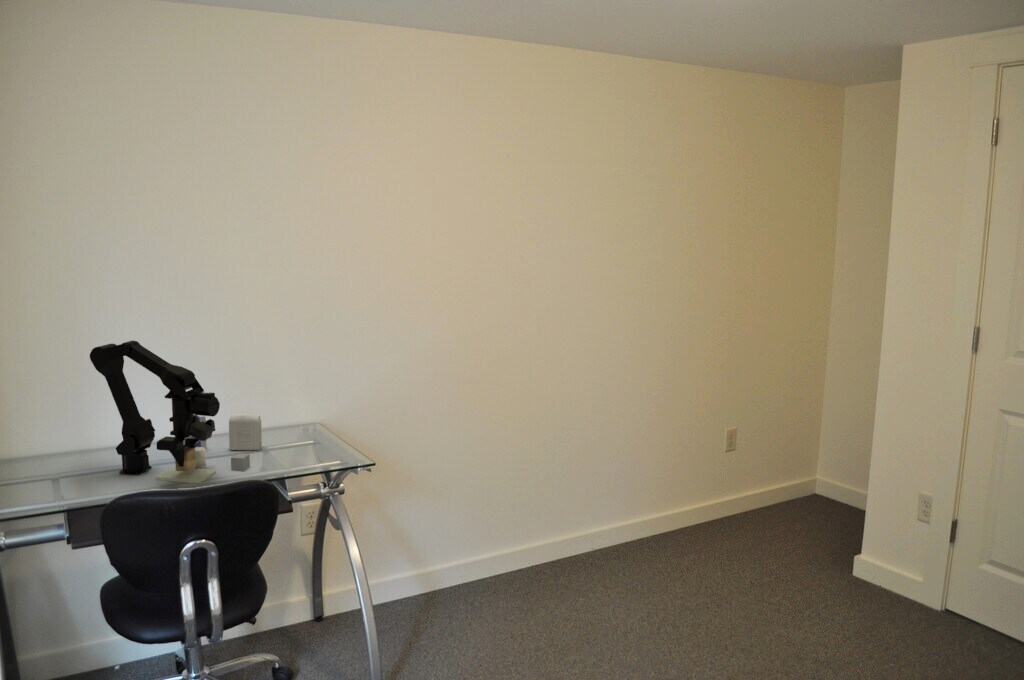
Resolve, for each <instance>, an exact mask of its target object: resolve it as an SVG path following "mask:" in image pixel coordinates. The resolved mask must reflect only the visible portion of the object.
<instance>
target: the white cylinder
mask: <svg viewBox="0 0 1024 680" xmlns="http://www.w3.org/2000/svg"><path fill="white" fill-rule="evenodd" d="M195 457H196V468H201V467H204V466H206V465H207V462H206V460H207V459H206V458H207V457H206V451H205V448H204V447H195Z"/></svg>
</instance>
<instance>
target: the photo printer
mask: <svg viewBox="0 0 1024 680" xmlns="http://www.w3.org/2000/svg"><path fill="white" fill-rule="evenodd" d="M262 435H263V433H262V419H261V415H259V414H257V413H253V412H238V413H234V414H231V415H230V416H229V420H228V437H229V438H228V440H229V441H228V443H229V445H228V446H229V450H231V451H260V450H262V449H263V448H262V447H263V446H262V443H263V442H262V440H263V439H262V438H263V437H262Z"/></svg>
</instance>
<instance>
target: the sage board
mask: <svg viewBox="0 0 1024 680" xmlns="http://www.w3.org/2000/svg"><path fill="white" fill-rule="evenodd" d="M215 474H217V470H216V469H205V468H204V469H203V468H194V469H192V470H191V471H189V472H184V471H176V466H172V467H170V468H168V469H167V470H165V471H163V472H161V473H159V474H158V475H157V476H155V477H154V480H156V481H166V482H176V483H177V482H178V483H187V484H189V483H191V484H202V483H203V482H204V481H206V480H208V479H209V478H210V477H212V476H214V475H215Z"/></svg>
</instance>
